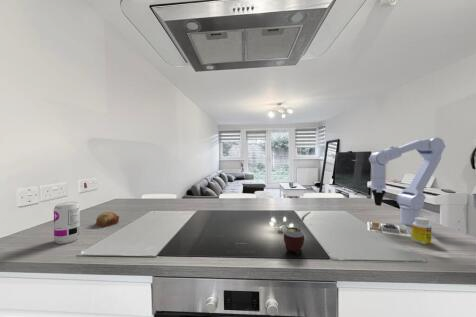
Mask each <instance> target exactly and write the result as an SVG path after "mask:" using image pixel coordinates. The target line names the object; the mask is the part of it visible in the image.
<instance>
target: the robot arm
mask: <svg viewBox="0 0 476 317" xmlns="http://www.w3.org/2000/svg"><path fill="white" fill-rule="evenodd" d="M445 148H446V145H445V142H444V140H443V139H442V138H440V137H433V138H423V139H422V138H420V139H419V138H418V139H416V140H412V141H410V142H408V143H406V144H403V145H400V146H397V145H396V146H395V145H390V146H388V148H386V149H380V150H379V151H378V152H372V153H371V154H370V155H369V157H368V161H369V163H370V166H371V173H370V174H371V177H370V178H371V179H370V180H371V182H370V183H371V185H368V188H371V193H372V195H373V199H374V204H375V206H377V207H378V206H379V207H381V206H382V203H383V199H384V197H385V195H386V193H387V192H386V189H387V186H386V184H387V182H386V180H387V179H386V178H387V176H386V175H387V174H386V172H387V171H386V169H387V164H388V163H389V162H390V161H393V160H395V159H398V158H400V157H402V155H403V154H405V153H408V152H412V151H414V150H416V151H417V152H418V154H419V155H420V156H421V157H422V158H423V161H422V163H421V165H420V166H419V168H418V170H417V172H416V173H415V175H414V177H413V179H412V181H411V182H410V184H409V186H408V187H406V188H404V189H402V190H401V192H400V193H398V195H397V196H396V198H395V199H396V202H397V204H398V206H399V215H400V217H399V219H400V220H399V224H401V225H406V226H411V227H412V223H413V222H415V218H416V217H420V211H421V210H422V208H423V207H424V205H425V200H426V199H427V197H426V195H425V193H423V192H424V191H425V188H426V187H427V185H428V184H429V181H430V180H431V178H432V176H433V174H434V173H435V170H436V169H437V168H438V165H439V164H440V162H441V158H442V154H443V152H444V151H445Z"/></svg>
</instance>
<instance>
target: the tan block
mask: <svg viewBox="0 0 476 317" xmlns="http://www.w3.org/2000/svg"><path fill="white" fill-rule="evenodd" d="M371 222H372V229H375V230H379V223H380V222H379V221H378V220H372V221H371Z"/></svg>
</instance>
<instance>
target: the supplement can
mask: <svg viewBox="0 0 476 317" xmlns="http://www.w3.org/2000/svg"><path fill="white" fill-rule="evenodd" d="M80 213H81V211H80V204H79V203H78V202H77V201H67V202H61V203H56V204H55V206H54V208H53V242H54V243H56V245H57V244H58V245H63V244H70V243H72V242H75V241H77V240H78V239H79V238H80V237H81V226H80V225H81V222H80V221H81V220H80V219H81V215H80Z"/></svg>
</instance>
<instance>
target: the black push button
mask: <svg viewBox="0 0 476 317" xmlns="http://www.w3.org/2000/svg"><path fill="white" fill-rule="evenodd" d="M385 224H386V228H390V229H395V226H396V225H395V224H392V223H385Z"/></svg>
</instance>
